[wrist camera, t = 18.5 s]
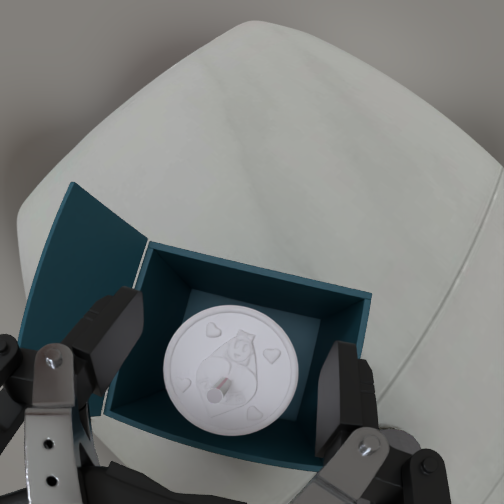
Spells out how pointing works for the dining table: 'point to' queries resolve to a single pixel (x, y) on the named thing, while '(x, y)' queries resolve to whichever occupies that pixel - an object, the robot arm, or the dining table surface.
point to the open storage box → (241, 294)
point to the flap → (79, 270)
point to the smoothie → (230, 370)
